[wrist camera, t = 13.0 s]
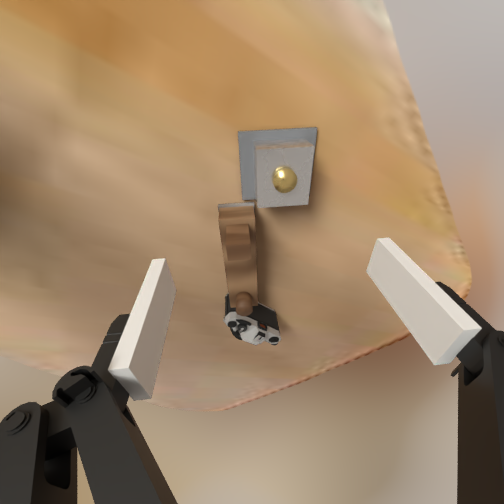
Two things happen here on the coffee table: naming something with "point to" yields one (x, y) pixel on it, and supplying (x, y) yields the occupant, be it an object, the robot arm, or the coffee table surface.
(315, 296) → the coffee table surface
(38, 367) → the coffee table surface
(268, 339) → the camera
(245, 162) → the felt mat
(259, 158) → the grey gold knob block
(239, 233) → the plane body
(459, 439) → the robot arm
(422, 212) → the coffee table surface
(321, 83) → the coffee table surface
